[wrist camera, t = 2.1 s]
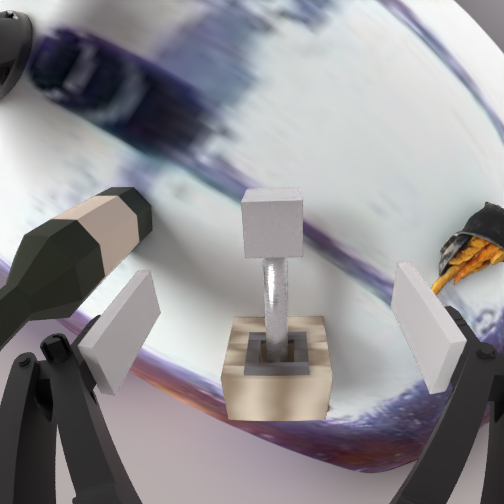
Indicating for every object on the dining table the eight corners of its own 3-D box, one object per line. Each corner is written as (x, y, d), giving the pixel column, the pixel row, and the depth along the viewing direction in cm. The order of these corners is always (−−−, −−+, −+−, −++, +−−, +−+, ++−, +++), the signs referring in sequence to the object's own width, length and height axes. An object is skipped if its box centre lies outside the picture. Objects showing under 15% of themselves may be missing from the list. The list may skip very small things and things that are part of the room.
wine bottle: (137, 174, 35) (-80, 308, 8) (164, 235, 38) (10, 431, 11) (88, 199, 37) (-96, 325, 10) (114, 254, 40) (-33, 417, 13)
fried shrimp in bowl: (530, 229, 29) (482, 356, 30) (468, 212, 38) (424, 323, 40) (519, 197, 24) (463, 352, 26) (445, 182, 34) (394, 312, 35)
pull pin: (259, 379, 40) (257, 407, 36) (247, 189, 30) (240, 202, 26) (296, 379, 40) (297, 407, 35) (298, 187, 30) (302, 200, 25)
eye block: (239, 359, 46) (228, 419, 35) (233, 313, 42) (219, 374, 32) (318, 359, 44) (325, 419, 34) (322, 312, 41) (333, 373, 30)
